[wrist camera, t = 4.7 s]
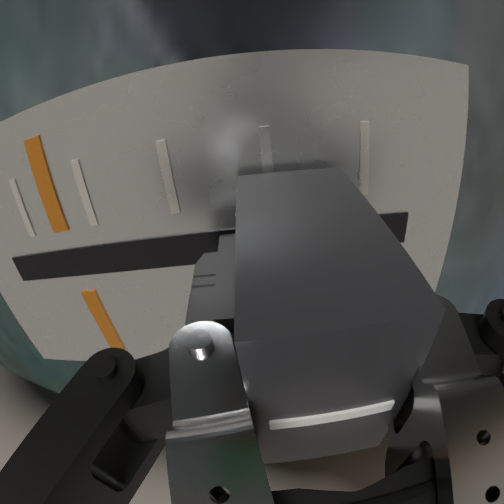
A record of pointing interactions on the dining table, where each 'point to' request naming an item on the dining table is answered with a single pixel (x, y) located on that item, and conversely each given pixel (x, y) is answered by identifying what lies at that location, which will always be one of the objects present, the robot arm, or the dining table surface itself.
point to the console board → (208, 178)
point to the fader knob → (324, 314)
